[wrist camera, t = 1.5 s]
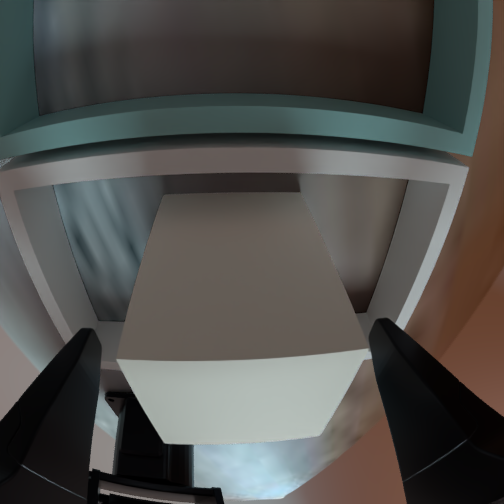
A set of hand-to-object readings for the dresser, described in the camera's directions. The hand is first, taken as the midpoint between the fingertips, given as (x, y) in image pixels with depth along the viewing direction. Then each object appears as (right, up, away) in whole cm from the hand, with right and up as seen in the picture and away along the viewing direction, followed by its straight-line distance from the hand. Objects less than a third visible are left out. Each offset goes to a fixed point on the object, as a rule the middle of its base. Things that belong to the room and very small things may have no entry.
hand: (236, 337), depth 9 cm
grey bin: (0, +3, +3) cm, 4 cm away
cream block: (0, +3, +3) cm, 4 cm away
